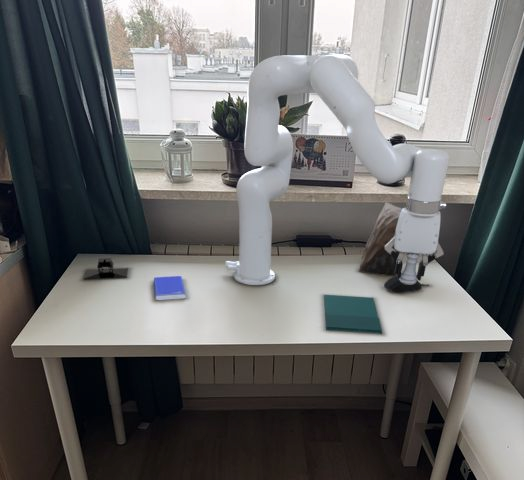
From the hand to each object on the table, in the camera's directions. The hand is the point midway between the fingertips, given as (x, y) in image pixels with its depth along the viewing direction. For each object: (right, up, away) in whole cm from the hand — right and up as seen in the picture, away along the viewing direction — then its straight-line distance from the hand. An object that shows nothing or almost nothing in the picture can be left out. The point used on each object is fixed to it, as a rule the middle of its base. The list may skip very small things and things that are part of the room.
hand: (408, 276), depth 129 cm
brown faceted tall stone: (0, +8, +36) cm, 37 cm away
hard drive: (-64, -2, +17) cm, 66 cm away
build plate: (-85, +4, +25) cm, 88 cm away
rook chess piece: (0, -1, +1) cm, 2 cm away
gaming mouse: (+6, 0, +24) cm, 25 cm away
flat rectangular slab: (-13, -9, +8) cm, 18 cm away
